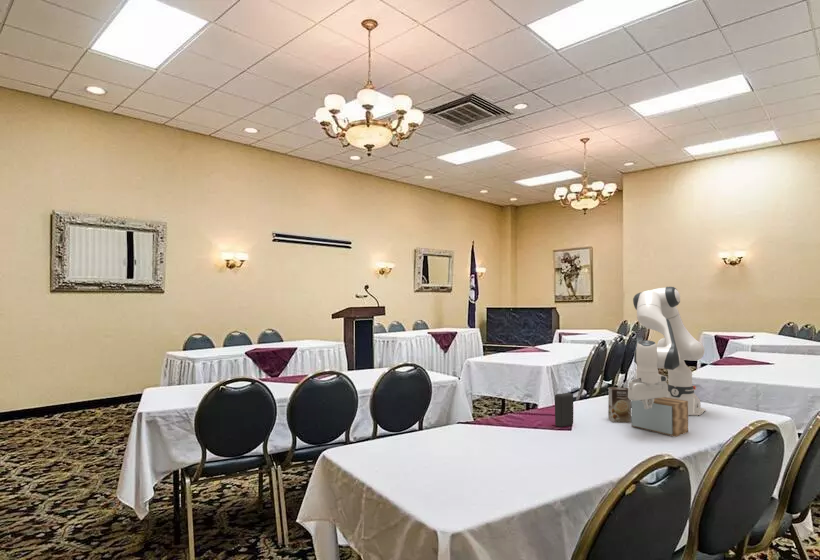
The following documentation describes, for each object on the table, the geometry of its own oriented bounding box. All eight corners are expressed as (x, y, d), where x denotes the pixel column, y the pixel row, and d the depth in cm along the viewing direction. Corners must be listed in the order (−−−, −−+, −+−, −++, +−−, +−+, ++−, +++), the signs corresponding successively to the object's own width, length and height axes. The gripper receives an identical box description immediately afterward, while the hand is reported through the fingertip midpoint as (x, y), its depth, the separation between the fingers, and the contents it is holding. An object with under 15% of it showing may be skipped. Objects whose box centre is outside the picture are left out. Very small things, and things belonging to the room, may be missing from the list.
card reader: (567, 423, 237) (567, 392, 237) (574, 425, 233) (574, 393, 234) (554, 425, 232) (553, 393, 233) (560, 427, 229) (560, 395, 229)
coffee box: (612, 422, 238) (611, 389, 239) (608, 419, 245) (607, 386, 245) (631, 423, 237) (631, 389, 238) (627, 419, 244) (626, 387, 244)
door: (631, 424, 231) (631, 398, 231) (672, 433, 216) (672, 406, 216) (630, 425, 230) (629, 399, 230) (671, 434, 215) (670, 406, 215)
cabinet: (645, 422, 238) (644, 393, 238) (688, 432, 222) (687, 401, 222) (631, 426, 231) (631, 396, 231) (675, 436, 215) (674, 404, 215)
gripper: (635, 380, 211) (635, 412, 211) (670, 377, 219) (670, 408, 218) (623, 378, 217) (624, 409, 217) (658, 374, 224) (659, 405, 224)
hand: (648, 408), depth 218 cm, fingers closed
